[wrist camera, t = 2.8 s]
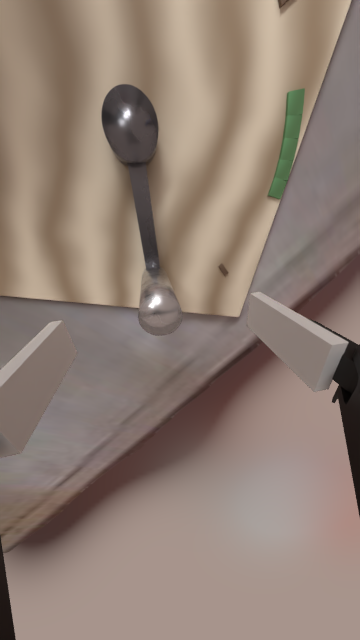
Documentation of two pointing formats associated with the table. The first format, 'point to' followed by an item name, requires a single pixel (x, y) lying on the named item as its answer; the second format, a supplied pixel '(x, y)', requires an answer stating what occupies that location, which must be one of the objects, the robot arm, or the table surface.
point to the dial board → (172, 146)
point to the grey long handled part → (141, 198)
